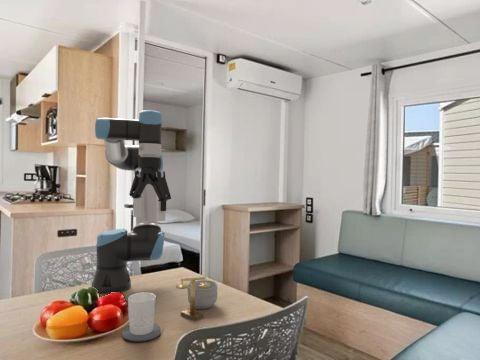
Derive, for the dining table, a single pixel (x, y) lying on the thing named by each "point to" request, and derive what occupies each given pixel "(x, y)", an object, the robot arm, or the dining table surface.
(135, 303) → the white cup
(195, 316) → the balance
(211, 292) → the teacup
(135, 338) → the dish
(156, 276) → the dining table surface
